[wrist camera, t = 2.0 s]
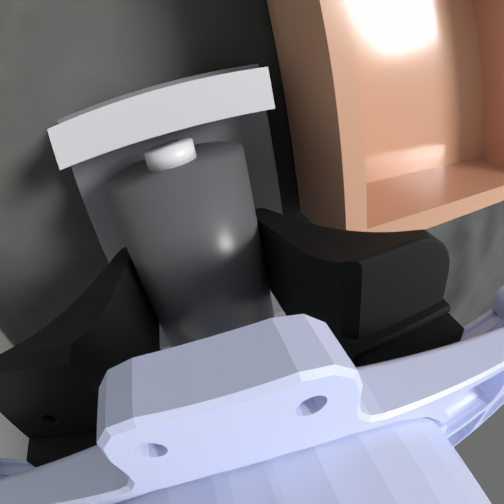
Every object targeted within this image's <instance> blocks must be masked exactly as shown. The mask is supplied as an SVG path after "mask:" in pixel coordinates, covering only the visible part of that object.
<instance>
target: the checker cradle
mask: <svg viewBox="0 0 504 504" xmlns="http://www.w3.org/2000/svg"><path fill="white" fill-rule="evenodd" d="M270 109H275V104H274V98H273V92H272V86H271V80H270V75H269V69H268V67H261V68H259V65H258V64H253V65H246V66H240V67H234V68H229V69H223V70H218V71H213V72H208V73H203V74H199V75H194V76H190V77H186V78H182V79H178V80H174V81H170V82H166V83H162V84H158V85H155V86H151V87H148V88H144V89H141V90H138V91H135V92H131V93H128V94H125V95H122V96H119V97H116V98H113V99H110V100H107V101H104V102H102V103H99V104H96V105H94V106H91V107H88V108H86V109H83V110H80V111H78V112H75V113H73V114H70V115H68V116H66V117H63V118H61V119H59V120H57V121H58V125H56V126H53V127H51V128H49V129H47V131H48V134H49V138H50V141H51V144H52V148H53V151H54V154H55V157H56V160H57V163H58V166H59V169H60V170H62V169H64V168H67V167H69V166H71V168H72V171H73V174H74V177H75V179H76V182H77V185H78V188H79V191H80V194H81V196H82V199H83V202H84V204H85V207H86V210H87V212H88V215H89V217H90V220H91V223H92V225H93V228H94V230H95V232H96V235H97V237H98V240H99V242H100V244H101V247H102V249H103V251H104V254H105V256H106V258H107V261H108V263H110V262H111V260H112V259H113V258H114V257H115V256H116V254H117V253H118V252H119V251H120V250H121V249H122V248H124V247H126V245H125V242H124V239H123V237H122V234H121V232H120V229H119V226H118V224H117V221H116V218H115V216H114V213H113V210H112V207H111V205H110V202H109V199H108V196H107V193H106V190H105V183H106V182H107V181H108V180H109V179H110V178H111V177H112V176H113V175H115V174H116V173H118V172H119V171H121V170H122V169H124V168H126V167H128V166H130V165H132V164H134V163H136V162H138V161H141V160H143V159H145V157H144V152H145V151H146V150H147V149H149V148H151V147H154V146H156V145H159V144H162V143H165V142H168V141H172V140H176V139H182V138H192V139H193V143H194V144H199V143H206V142H216V141H231V142H237V143H240V144H241V145H242V146H243V149H244V154H245V159H246V164H247V170H248V175H249V180H250V185H251V191H252V196H253V201H254V207H255V209H258V208H265V209H269V210H271V211H274V212H277V213H280V214H283V210H282V203H281V197H280V190H279V183H278V177H277V170H276V164H275V158H274V151H273V145H272V139H271V133H270V127H269V121H268V115H267V110H270ZM270 294H271V299H272V305H273V310H274V316H275V317H282V316H286V314H285V312H284V311H283V309H282V308H281V306H280V305H279V303H278V301H277V300H276V298H275V297H274V295H273V294H272V292H271V290H270ZM159 324H160V322H159ZM168 348H172V347H171V345H170V343H169V341H168V339H167V337H166V335H165V333H164V331H163V329H162V327H161V325H160V351H161V350H164V349H168Z"/></svg>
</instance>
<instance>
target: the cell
mask: <svg viewBox="0 0 504 504" xmlns="http://www.w3.org/2000/svg"><path fill="white" fill-rule="evenodd" d="M144 157H145V159H143V160H141V161H138V162H136V163H134V164H132V165H130V166H128V167H126V168H124V169H122V170H121V171H119V172H118V173H116V174H115V175H113V176H112V177H111V178H110V179H109V180H108V181H107V182H106V183H105V190H106V193H107V196H108V199H109V202H110V205H111V207H112V210H113V213H114V216H115V218H116V221H117V224H118V226H119V229H120V232H121V234H122V237H123V239H124V242H125V245H126V247H127V250H128V252H129V254H130V257H131V259H132V262H133V264H134V267H135V269H136V271H137V274H138V276H139V278H140V281H141V283H142V285H143V288H144V290H145V292H146V294H147V297H148V299H149V301H150V303H151V305H152V308H153V310H154V312H155V314H156V316H157V318H158V320H159V322H160V325H161V327H162V329H163V331H164V333H165V335H166V337H167V339H168V341H169V343H170V345H171V347H176V346H179V345H183V344H186V343H190V342H194V341H197V340H201V339H204V338H208V337H211V336H214V335H218V334H221V333H225V332H228V331H231V330H234V329H238V328H241V327H244V326H247V325H251V324H254V323H257V322H260V321H263V320H266V319H269V318H274V317H275V316H274V310H273V305H272V299H271V294H270V288H269V283H268V277H267V272H266V266H265V261H264V255H263V250H262V244H261V239H260V233H259V228H258V223H257V217H256V212H255V207H254V201H253V196H252V191H251V185H250V180H249V175H248V170H247V164H246V159H245V154H244V149H243V146H242V145H241V144H240V143H237V142H231V141H216V142H206V143H199V144H194V143H193V139H192V138H182V139H176V140H172V141H168V142H165V143H162V144H159V145H156V146H154V147H151V148H149V149H147V150H146V151H145V152H144Z"/></svg>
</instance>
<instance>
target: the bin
mask: <svg viewBox="0 0 504 504" xmlns="http://www.w3.org/2000/svg"><path fill="white" fill-rule="evenodd" d="M267 4H268V9H269V14H270V19H271V24H272V29H273V34H274V39H275V45H276V50H277V55H278V61H279V67H280V72H281V78H282V84H283V90H284V96H285V102H286V108H287V115H288V121H289V128H290V135H291V142H292V149H293V156H294V163H295V170H296V178H297V186H298V194H299V202H300V210H301V213H302V214H303V215H304V216H306V217H307V218H308V219H309V220H310V221H311V222H312V223H313V224H315V225H319V226H323V227H329V228H335V229H341V230H349V231H361V232H399V231H411V230H422V229H424V230H425V229H427V228H430V227H433V226H436V225H439V224H441V223H444V222H447V221H450V220H452V219H455V218H458V217H460V216H463V215H466V214H469V213H471V212H474V211H477V210H479V209H482V208H484V207H487V206H490V205H492V204H495V203H498V202H500V201H503V200H504V0H267Z"/></svg>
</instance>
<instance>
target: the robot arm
mask: <svg viewBox="0 0 504 504" xmlns="http://www.w3.org/2000/svg"><path fill="white" fill-rule="evenodd" d="M255 212H256V217H257V223H258V228H259V233H260V239H261V244H262V250H263V255H264V261H265V266H266V272H267V277H268V283H269V288H270V290H271V292H272V294H273V295H274V297H275V298H276V300H277V301H278V303H279V305H280V306H281V308H282V309H283V311H284V312H285V314H286V316H282V317H274V318H269V319H266V320H263V321H260V322H257V323H254V324H251V325H247V326H244V327H241V328H238V329H234V330H231V331H228V332H225V333H221V334H218V335H214V336H211V337H208V338H204V339H201V340H197V341H194V342H190V343H186V344H183V345H179V346H176V347H172V348H168V349H164V350H161V351H160V324H159V320H158V318H157V316H156V314H155V312H154V310H153V308H152V305H151V303H150V301H149V299H148V297H147V294H146V292H145V290H144V288H143V285H142V283H141V281H140V278H139V276H138V274H137V271H136V269H135V267H134V264H133V262H132V259H131V257H130V254H129V252H128V250H127V247H124V248H122V249H121V250H120V251H119V252H118V253H117V254H116V256H115V257H114V258H113V259H112V260H111V262H110V263H109V264H108V265H107V266H106V268H105V269H104V270H103V271H102V273H101V274H100V275H99V276H98V277H97V279H96V280H95V281H94V282H93V283H92V284H91V285H90V287H89V288H88V289H87V290H86V291H85V292H84V293H83V294H82V295H81V296H80V297H79V298H78V299H77V300H76V301H75V302H74V303H73V304H72V305H71V306H70V307H69V308H68V309H67V310H66V311H64V312H63V313H62V314H61V315H59V316H58V317H57V318H56V319H55V320H53V321H52V322H51V323H50V324H48V325H47V326H46V327H44V328H43V329H41V330H40V331H39V332H37V333H36V334H34V335H33V336H31V337H30V338H28V339H27V340H25V341H23V342H22V343H20V344H18V345H16V346H14V347H13V348H11V349H9V350H7V351H5V352H4V353H2V354H0V412H1V413H2V414H3V415H4V416H5V417H6V418H7V419H8V420H9V421H10V422H11V423H12V424H14V425H15V426H16V427H17V428H18V429H19V430H20V431H21V432H23V433H24V434H25V435H26V436H28V438H29V445H28V453H27V459H7V458H6V459H4V458H0V504H491V502H490V501H489V499H488V498H487V496H486V495H485V493H484V492H483V490H482V489H481V487H480V486H479V484H478V483H477V481H476V480H475V478H474V477H473V475H472V474H471V472H470V471H469V469H468V468H467V466H466V465H465V463H464V462H463V460H462V459H461V458H460V456H459V455H458V453H457V452H456V451H455V449H454V448H453V447H454V446H455V445H457V444H458V443H459V442H461V441H462V440H463V439H464V438H465V437H467V436H468V435H469V434H470V433H471V432H473V431H474V430H475V429H476V428H477V427H478V426H480V425H481V424H482V423H483V422H484V421H485V420H486V419H487V418H489V417H490V416H491V415H492V414H493V413H494V412H495V411H496V410H497V409H498V408H499V407H501V406H502V405H503V404H504V285H503V286H501V287H500V289H499V290H498V291H497V293H496V295H495V298H494V301H493V304H492V309H490V310H489V311H488V312H486V313H485V314H483V315H482V316H480V317H479V318H477V319H475V320H474V321H472V322H471V323H469V324H468V325H466V326H465V327H462V326H461V325H460V324H459V323H458V322H457V321H456V320H455V319H454V318H453V317H452V316H451V315H450V314H449V313H448V312H449V311H450V305H449V304H448V303H447V302H446V301H445V300H444V299H443V295H444V291H445V286H446V282H447V277H448V272H449V254H448V250H447V248H446V247H445V245H444V244H443V243H442V242H441V241H439V240H438V239H437V238H435V237H434V236H432V235H431V234H430V233H428V232H427V231H425V230H424V229H422V230H411V231H399V232H361V231H349V230H341V229H335V228H329V227H323V226H319V225H315V224H311V223H308V222H304V221H301V220H297V219H294V218H291V217H288V216H285V215H283V214H280V213H277V212H274V211H271V210H269V209H265V208H258V209H255Z"/></svg>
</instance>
